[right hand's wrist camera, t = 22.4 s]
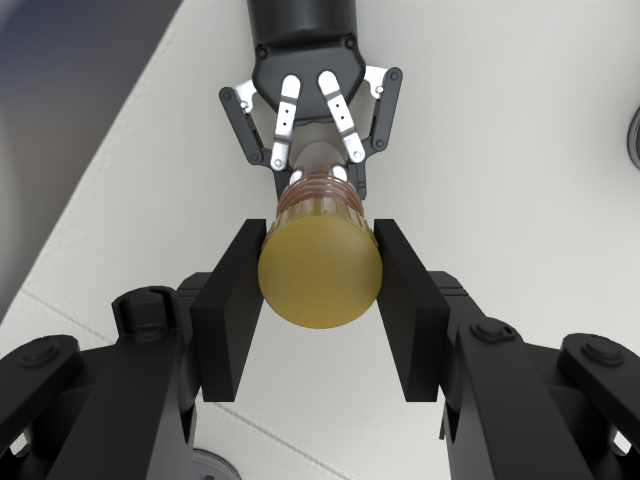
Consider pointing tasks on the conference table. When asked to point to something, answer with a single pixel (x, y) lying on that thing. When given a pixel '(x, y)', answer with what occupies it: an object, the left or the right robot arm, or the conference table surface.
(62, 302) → the conference table surface
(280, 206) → the bottle
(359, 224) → the cap
